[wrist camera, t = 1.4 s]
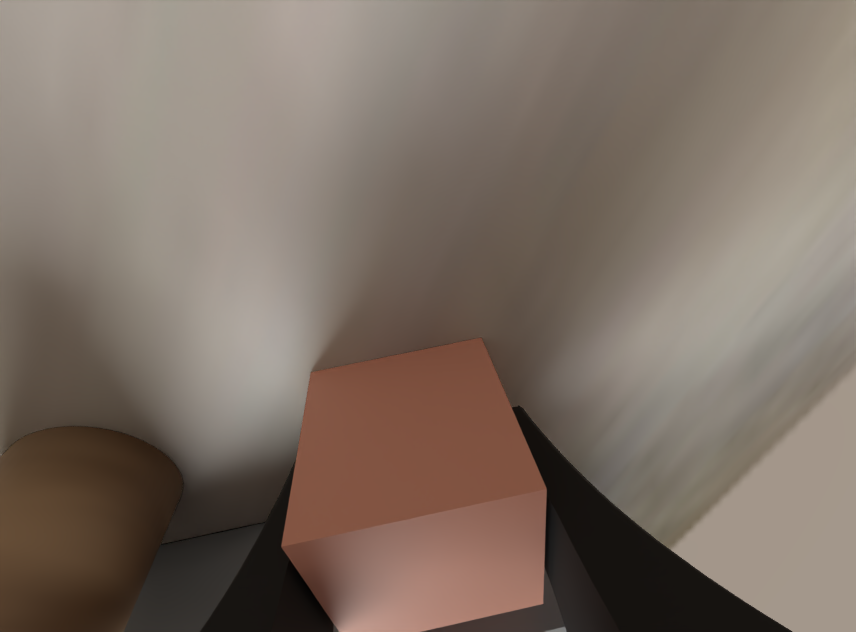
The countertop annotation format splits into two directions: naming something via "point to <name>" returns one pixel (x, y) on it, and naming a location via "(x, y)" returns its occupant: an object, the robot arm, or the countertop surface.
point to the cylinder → (80, 527)
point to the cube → (415, 494)
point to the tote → (219, 564)
